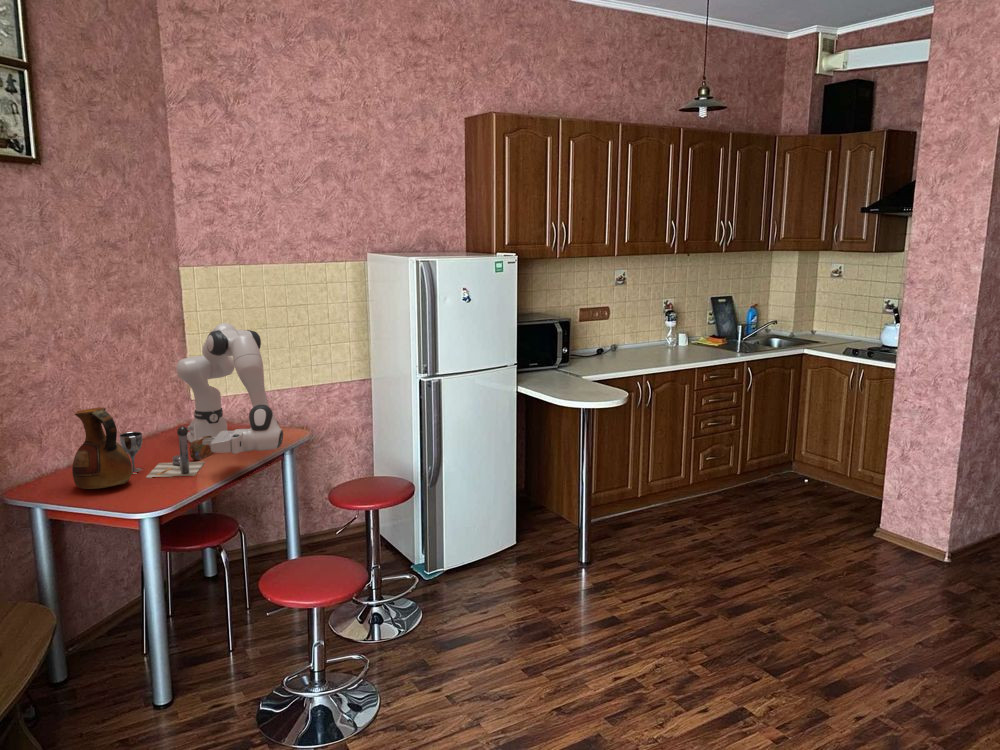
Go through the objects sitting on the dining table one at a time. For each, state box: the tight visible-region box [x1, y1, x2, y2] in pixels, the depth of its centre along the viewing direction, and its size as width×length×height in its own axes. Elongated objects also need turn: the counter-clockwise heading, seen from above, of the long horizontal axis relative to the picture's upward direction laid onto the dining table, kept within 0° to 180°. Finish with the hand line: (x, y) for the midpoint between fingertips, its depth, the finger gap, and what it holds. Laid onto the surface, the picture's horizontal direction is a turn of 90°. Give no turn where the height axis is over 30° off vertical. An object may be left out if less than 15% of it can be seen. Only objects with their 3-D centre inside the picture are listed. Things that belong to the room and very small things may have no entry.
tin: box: [189, 436, 214, 461], centre depth 323 cm, size 15×3×8 cm, turn 168°
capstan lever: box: [172, 425, 190, 473], centre depth 305 cm, size 19×6×18 cm, turn 29°
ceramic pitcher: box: [71, 406, 133, 490], centre depth 283 cm, size 20×20×30 cm
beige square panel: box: [145, 461, 206, 479], centre depth 306 cm, size 18×18×1 cm
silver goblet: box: [119, 431, 143, 474], centre depth 303 cm, size 8×8×15 cm
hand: (203, 441), depth 299 cm, fingers closed
